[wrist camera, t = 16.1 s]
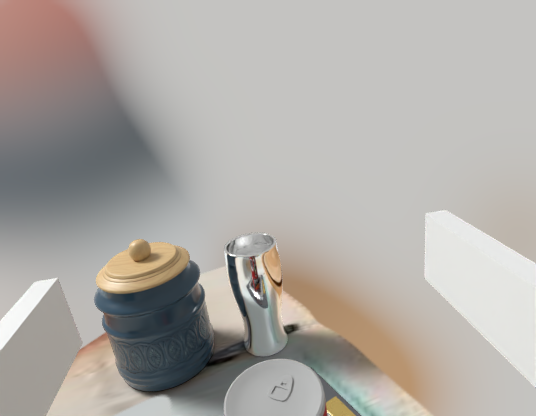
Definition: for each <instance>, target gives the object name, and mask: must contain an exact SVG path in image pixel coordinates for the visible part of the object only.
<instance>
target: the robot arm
mask: <svg viewBox="0 0 536 416" xmlns="http://www.w3.org/2000/svg"><path fill="white" fill-rule="evenodd" d="M425 227H426V228H425V279H426V280H427V281H428V282H429V283H430V284H431V285H432V286H433V287H434V288H435V289H436V290H437V291H438V292H439V293H440V294H441V295H442V296H443V297H444V298H445V299H446V300H447V301H448V302H449V303H450V304H451V305H452V306H453V307H454V308H455V309H456V310H457V311H458V312H459V313H460V314H461V315H462V316H463V317H464V318H465V319H466V320H467V321H468V322H469V323H470V324H471V325H472V326H473V327H474V328H475V329H476V330H477V331H478V332H479V333H480V334H482V336H483V337H484V338H485V339H487V341H488V342H490V343H491V344H492V345H493V346H494V347H495V348H496V349H497V350H498V351H499V352H500V353H501V354H502V355H503V356H504V357H505V358H506V359H507V360H508V361H509V362H510V363H511V364H512V365H513V366H514V367H515V368H516V369H517V370H518V371H519V372H520V373H521V374H522V375H523V376H524V377H525V378H526V379H527V380H528V381H529V382H530V383H531V384H532V385H533V386H534V387H535V388H536V263H534V262H532V261H531V260H529V259H527V258H526V257H524V256H522V255H520V254H519V253H517V252H516V251H514V250H512V249H510V248H509V247H507V246H505V245H504V244H502V243H500V242H499V241H497V240H495V239H494V238H492V237H490V236H489V235H487V234H485V233H484V232H482V231H480V230H479V229H477V228H475V227H473V226H472V225H470V224H468V223H467V222H465V221H463V220H462V219H460V218H458V217H457V216H455V215H453V214H452V213H450V212H448V211H447V210H442V211H436V212H431V213H426V222H425ZM81 345H82V340H81V338H80V335H79V332H78V330H77V327H76V324H75V322H74V319H73V316H72V314H71V311H70V308H69V306H68V303H67V301H66V298H65V295H64V293H63V290H62V287H61V285H60V282H59V279H58V278H54V279H49V280H43V281H38V282H34V283H33V284H32V286H31V287H30V288H29V289H28V290H27V291H26V292H25V294H24V295H23V296H22V297H21V298H20V299H19V300H18V301H17V303H16V304H15V305H14V306H13V307H12V308H11V309H10V310H9V312H8V313H7V314H6V315H5V316H4V317H3V318H2V320H1V321H0V416H46V414H47V412H48V410H49V408H50V406H51V404H52V402H53V400H54V398H55V396H56V395H57V393H58V391H59V389H60V387H61V385H62V383H63V381H64V379H65V377H66V375H67V373H68V371H69V369H70V367H71V365H72V363H73V361H74V359H75V357H76V355H77V353H78V351H79V349H80V347H81Z"/></svg>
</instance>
